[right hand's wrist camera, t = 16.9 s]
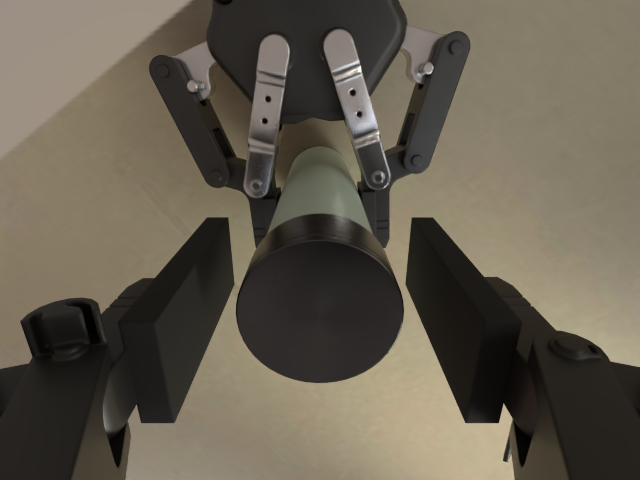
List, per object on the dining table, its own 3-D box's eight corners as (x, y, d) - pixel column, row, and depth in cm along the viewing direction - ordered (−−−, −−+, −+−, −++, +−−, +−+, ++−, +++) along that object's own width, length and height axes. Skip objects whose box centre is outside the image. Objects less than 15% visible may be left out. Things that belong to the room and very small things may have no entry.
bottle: (334, 215, 27) (352, 379, 12) (280, 191, 26) (226, 333, 11) (360, 162, 25) (419, 272, 10) (304, 135, 25) (280, 211, 10)
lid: (419, 272, 12) (439, 308, 10) (327, 359, 13) (329, 407, 11) (310, 182, 11) (308, 203, 9) (221, 287, 12) (202, 326, 10)
